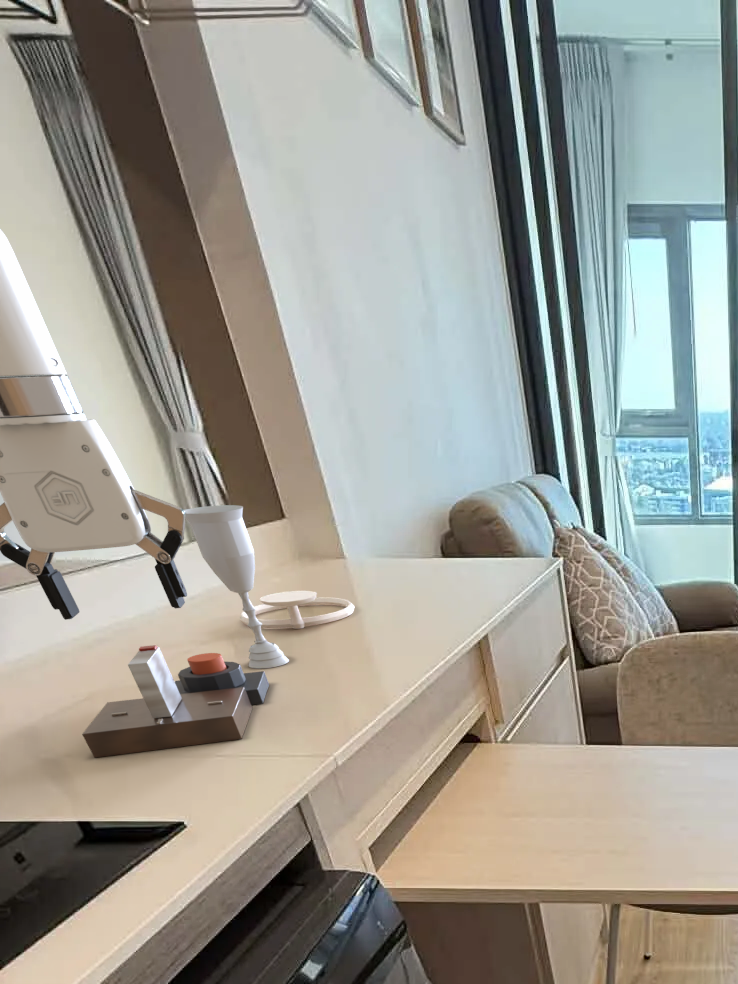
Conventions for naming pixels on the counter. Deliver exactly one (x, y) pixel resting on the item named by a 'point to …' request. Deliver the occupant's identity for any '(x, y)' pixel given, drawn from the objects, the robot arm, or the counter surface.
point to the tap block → (169, 723)
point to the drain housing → (225, 682)
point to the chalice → (233, 567)
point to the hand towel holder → (292, 602)
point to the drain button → (206, 663)
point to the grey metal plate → (155, 681)
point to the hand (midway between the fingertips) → (126, 610)
